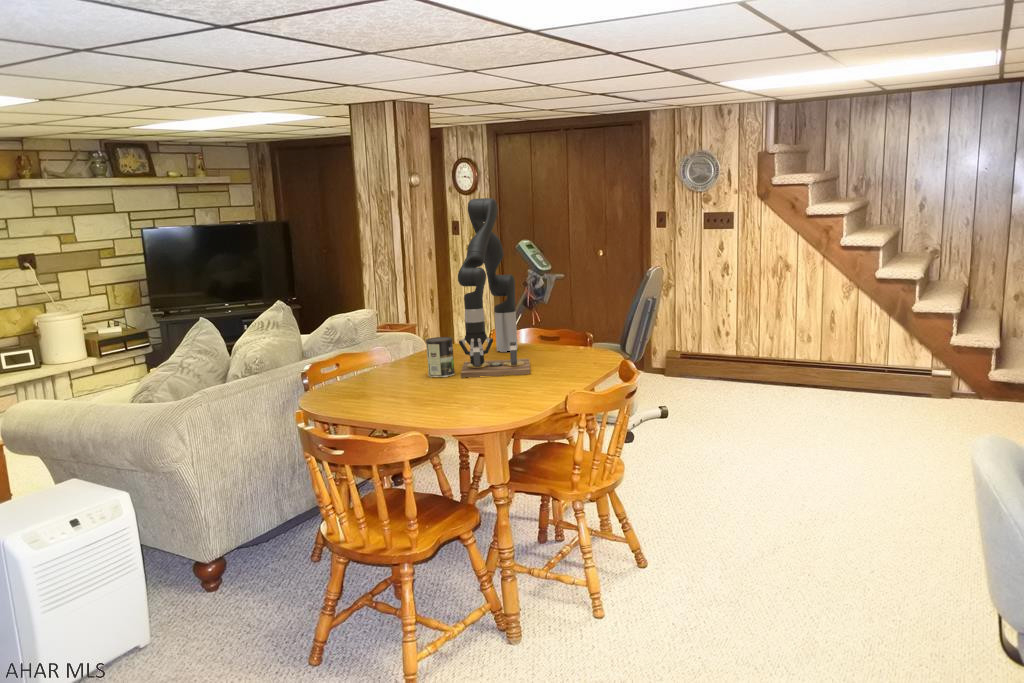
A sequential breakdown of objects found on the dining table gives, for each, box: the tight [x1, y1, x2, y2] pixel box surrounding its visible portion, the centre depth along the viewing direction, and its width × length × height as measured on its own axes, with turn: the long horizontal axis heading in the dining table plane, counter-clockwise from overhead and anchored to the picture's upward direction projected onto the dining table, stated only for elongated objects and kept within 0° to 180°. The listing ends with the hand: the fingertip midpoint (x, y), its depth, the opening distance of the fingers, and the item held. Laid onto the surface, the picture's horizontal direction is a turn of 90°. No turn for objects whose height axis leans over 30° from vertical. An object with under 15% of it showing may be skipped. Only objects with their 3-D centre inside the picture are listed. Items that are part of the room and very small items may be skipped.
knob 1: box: [468, 346, 488, 369], centre depth 314 cm, size 9×8×8 cm
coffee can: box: [425, 336, 456, 378], centre depth 311 cm, size 10×10×14 cm
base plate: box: [460, 358, 531, 379], centre depth 314 cm, size 22×26×3 cm
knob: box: [504, 342, 524, 367], centre depth 314 cm, size 9×8×8 cm
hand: (477, 364), depth 311 cm, fingers closed on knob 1, 2 cm apart
